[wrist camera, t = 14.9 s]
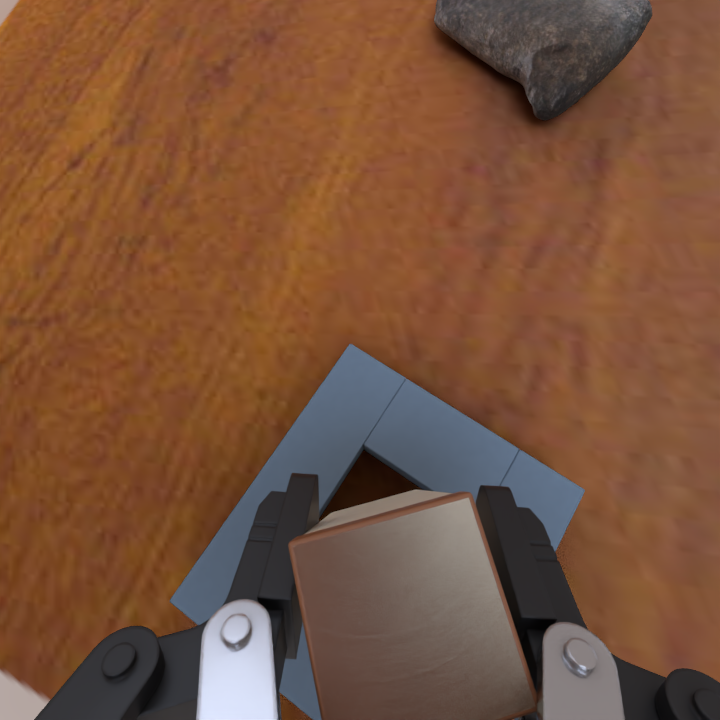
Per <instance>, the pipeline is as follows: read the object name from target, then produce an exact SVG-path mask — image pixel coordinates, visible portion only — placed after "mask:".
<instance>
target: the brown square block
mask: <svg viewBox="0 0 720 720" xmlns="http://www.w3.org/2000/svg"><path fill="white" fill-rule="evenodd" d="M288 548H289V553H290V559H291V564H292V569H293V574H294V579H295V585H296V590H297V595H298V600H299V605H300V611H301V616H302V621H303V626H304V631H305V637H306V642H307V647H308V652H309V657H310V663H311V668H312V673H313V678H314V683H315V688H316V694H317V699H318V704H319V709H320V714H321V720H512V719H515V718H518V717H522V716H525V715H528V714H531V713H534V712H537V693H536V690H535V687H534V684H533V681H532V678H531V675H530V671H529V668H528V665H527V662H526V659H525V656H524V653H523V650H522V647H521V644H520V641H519V637H518V634H517V631H516V628H515V625H514V622H513V619H512V616H511V613H510V610H509V607H508V603H507V600H506V597H505V594H504V591H503V588H502V585H501V582H500V579H499V576H498V573H497V569H496V566H495V563H494V560H493V557H492V554H491V551H490V548H489V545H488V542H487V539H486V535H485V532H484V529H483V526H482V523H481V520H480V517H479V514H478V511H477V508H476V505H475V501H474V498H473V495H472V494H471V493H470V492H463V491H459V492H456V493H445V492H436V491H426V490H416V489H415V490H412V491H408V492H404V493H401V494H397V495H393V496H390V497H386V498H383V499H379V500H375V501H372V502H368V503H364V504H361V505H357V506H354V507H350V508H346V509H343V510H339V511H335V512H332V513H330V514H329V515H328V516H326V517H325V518H324V519H323V520H321V521H320V522H319V523H318V524H316V525H315V526H314V527H313V528H311V529H310V530H309V531H308V532H306V533H305V534H304V535H301V536H297V537H296V538H294V539H293V540H292V541H290V542H289V544H288Z"/></svg>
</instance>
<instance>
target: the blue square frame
mask: <svg viewBox="0 0 720 720" xmlns="http://www.w3.org/2000/svg"><path fill="white" fill-rule="evenodd" d="M363 450H365V451H366V452H368V453H369V454H371V455H372V456H374V457H375V458H377V459H378V460H380V461H381V462H383V463H384V464H386V465H387V466H389V467H390V468H391V469H393V470H394V471H396V472H397V473H399V474H400V475H402V476H403V477H405V478H406V479H408V480H409V481H411V482H412V483H414V484H415V485H417V486H418V487H420V488H421V489H423V490H426V491H436V492H445V493H456V492H459V491H463V492H470V493H471V494H472V495H473V498H474V501H475V503H476V499H477V495H478V490H479V487H480V486H481V485H490V486H506V487H509V488H510V489H511V491H512V494H513V497H514V500H515V502H516V505H517V507H526V508H530V509H531V510H532V512H533V513H534V514H535V515H536V516H537V517H538V518H539V520H540V521H541V522H542V523H543V524H544V527H545V529H546V532H547V534H548V536H549V539H550V541H551V546H553V549H554V551H556V549H557V547H558V545H559V543H560V541H561V539H562V537H563V535H564V533H565V531H566V529H567V527H568V525H569V523H570V520H571V518H572V516H573V514H574V512H575V510H576V508H577V506H578V504H579V502H580V500H581V498H582V496H583V494H584V492H585V490H584V489H583V488H581V487H580V486H578V485H576V484H575V483H573V482H572V481H570V480H568V479H567V478H565V477H564V476H562V475H560V474H559V473H557V472H556V471H554V470H552V469H551V468H549V467H548V466H546V465H544V464H543V463H541V462H539V461H538V460H536V459H535V458H533V457H531V456H530V455H528V454H527V453H525V452H523V451H522V450H519V449H518V448H517V447H515V446H514V445H512V444H511V443H509V442H507V441H506V440H504V439H503V438H501V437H499V436H498V435H496V434H495V433H493V432H491V431H490V430H488V429H487V428H485V427H483V426H482V425H480V424H479V423H477V422H475V421H474V420H472V419H471V418H469V417H467V416H466V415H464V414H463V413H461V412H459V411H458V410H456V409H455V408H453V407H451V406H450V405H448V404H447V403H445V402H443V401H442V400H440V399H439V398H437V397H435V396H434V395H432V394H431V393H429V392H427V391H426V390H424V389H422V388H421V387H419V386H418V385H416V384H414V383H413V382H411V381H410V380H408V379H406V378H405V377H403V376H402V375H400V374H399V373H397V372H395V371H394V370H392V369H391V368H389V367H387V366H386V365H384V364H383V363H381V362H379V361H378V360H376V359H375V358H373V357H371V356H370V355H368V354H367V353H365V352H363V351H362V350H360V349H358V348H357V347H355V346H354V345H352V344H349V346H348V347H347V348H346V350H345V351H344V353H343V354H342V356H341V357H340V358H339V360H338V361H337V363H336V364H335V366H334V367H333V368H332V370H331V371H330V373H329V374H328V375H327V377H326V378H325V380H324V381H323V383H322V384H321V385H320V387H319V388H318V390H317V391H316V393H315V394H314V395H313V397H312V398H311V400H310V401H309V403H308V404H307V405H306V407H305V408H304V410H303V411H302V413H301V414H300V415H299V417H298V418H297V420H296V421H295V423H294V424H293V425H292V427H291V428H290V430H289V431H288V432H287V434H286V435H285V437H284V438H283V440H282V441H281V442H280V444H279V445H278V447H277V448H276V450H275V451H274V452H273V454H272V455H271V457H270V458H269V460H268V461H267V462H266V464H265V465H264V467H263V468H262V470H261V471H260V472H259V474H258V475H257V477H256V478H255V480H254V481H253V482H252V484H251V485H250V487H249V488H248V489H247V491H246V492H245V494H244V495H243V497H242V498H241V499H240V501H239V502H238V504H237V505H236V507H235V508H234V509H233V511H232V512H231V514H230V515H229V517H228V518H227V519H226V521H225V522H224V524H223V525H222V527H221V528H220V529H219V531H218V532H217V534H216V535H215V537H214V538H213V539H212V541H211V542H210V544H209V545H208V546H207V548H206V549H205V551H204V552H203V554H202V555H201V556H200V558H199V559H198V561H197V562H196V564H195V565H194V566H193V568H192V569H191V571H190V572H189V574H188V575H187V576H186V578H185V579H184V581H183V582H182V584H181V585H180V586H179V588H178V589H177V591H176V592H175V594H174V595H173V596H172V598H171V599H170V602H171V603H172V604H173V605H174V606H176V607H177V608H178V609H179V610H180V611H182V612H183V613H184V614H185V615H187V616H188V617H189V618H190V619H191V620H193V621H194V622H195V623H196V624H197V625H200V624H202V623H204V622H205V621H207V620H208V619H210V618H211V616H212V615H213V614H214V613H215V612H216V611H217V610H218V609H219V608H221V606H222V605H223V604H224V602H225V600H226V598H227V596H228V594H229V591H230V588H231V585H232V582H233V579H234V576H235V573H236V571H237V568H238V565H239V562H240V559H241V556H242V553H243V550H244V547H245V544H246V541H247V540H248V535H249V532H250V530H251V527H252V526H253V521H254V518H255V515H256V512H257V509H258V506H259V504H260V503H261V502H262V501H263V500H264V499H265V498H266V496H267V495H268V494H269V493H270V492H271V491H279V492H286V490H287V487H288V483H289V480H290V476H291V474H292V473H302V474H318V481H319V518H320V516H321V515H322V513H323V512H324V510H325V509H326V507H327V506H328V504H329V503H330V501H331V499H332V498H333V496H334V495H335V493H336V492H337V490H338V489H339V487H340V485H341V484H342V482H343V481H344V479H345V478H346V476H347V475H348V473H349V471H350V470H351V468H352V467H353V465H354V464H355V462H356V461H357V459H358V457H359V456H360V454H361V453H362V451H363ZM279 692H280V693H281V694H282V695H284V696H285V697H286V698H287V699H288V700H290V701H291V702H292V703H293V704H295V705H296V706H297V707H298V708H299V709H301V710H302V711H303V712H304V713H305V714H307V715H308V716H309V717H310V718H312V719H313V720H321V714H320V709H319V704H318V699H317V694H316V688H315V683H314V678H313V673H312V668H311V663H310V657H309V652H308V647H307V642H306V637H305V631H304V626H303V622H302V628H301V634H300V640H299V646H298V652H297V658H296V659H285V663H284V668H283V674H282V679H281V684H280V689H279Z"/></svg>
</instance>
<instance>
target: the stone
mask: <svg viewBox="0 0 720 720" xmlns="http://www.w3.org/2000/svg"><path fill="white" fill-rule="evenodd" d="M651 17H652V7H651V5H650V2H649V1H648V0H437V3H436V14H435V18H434V22H435V24H436V26H437V27H438V28H439V29H440V30H441V31H443V32H444V33H445V34H447V35H448V36H449V37H451V38H452V39H453V40H455V41H456V42H457V43H459V44H460V45H461V46H462V47H464V48H466V49H467V50H468V51H469V52H471V53H472V54H473V55H475V56H476V57H478V58H479V59H481V60H482V61H484V62H485V63H487V64H488V65H490V66H491V67H493V68H494V69H495V70H496V71H498V72H499V73H501V74H503V75H504V76H507V77H509V78H511V79H513V80H515V81H517V82H519V83H520V84H522V85H523V86H524V89H525V92H526V95H527V97H528V100H529V102H530V104H531V105H532V106H533V113H534V115H535V116H536V117H537V118H539V119H541V120H549V119H552V118H554V117H556V116H558V115H560V114H561V113H563V112H564V111H566V110H567V109H568V108H569V107H571V106H572V105H573V104H575V103H576V102H577V101H578V100H579V99H580V98H581V97H583V96H584V95H585V94H586V93H587V92H588V91H590V90H591V89H592V88H593V87H594V86H596V85H597V84H598V83H599V82H600V81H601V80H603V79H604V78H605V77H606V76H607V74H608V73H609V72H610V71H611V70H613V69H614V68H615V67H616V66H617V65H618V64H619V63H620V62H621V61H622V60H623V58H624V57H625V56H626V55H627V54H628V53H629V51H630V50H631V49H632V47H633V46H634V45H635V44H636V42H637V41H638V39H639V38H640V36H641V35H642V33H643V31H644V30H645V28H646V26H647V24H648V22H649V21H650V19H651Z"/></svg>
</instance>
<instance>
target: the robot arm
mask: <svg viewBox="0 0 720 720" xmlns="http://www.w3.org/2000/svg"><path fill="white" fill-rule="evenodd" d="M475 505H476V508H477V511H478V514H479V517H480V520H481V523H482V526H483V529H484V532H485V535H486V539H487V542H488V545H489V548H490V551H491V554H492V557H493V560H494V563H495V566H496V569H497V573H498V576H499V579H500V582H501V585H502V588H503V591H504V594H505V597H506V600H507V603H508V607H509V610H510V613H511V616H512V619H513V622H514V625H515V628H516V631H517V634H518V637H519V641H520V644H521V647H522V650H523V653H524V656H525V659H526V662H527V665H528V668H529V671H530V675H531V678H532V681H533V684H534V687H535V690H536V693H537V712H534V713H531V714H528V715H525V716H522V717H518V718H515V719H514V720H720V683H719V682H717V681H716V680H714V679H713V678H711V677H709V676H707V675H705V674H703V673H701V672H698V671H696V670H692V669H684V668H682V669H676V670H674V671H672V672H671V673H670V674H669V675H668V676H667V678H665V677H663V676H660V675H658V674H655V673H653V672H650V671H648V670H645V669H643V668H640V667H638V666H635V665H633V664H630V663H628V662H626V661H623V660H621V659H620V658H618V657H616V656H615V655H613V654H612V653H610V651H609V650H608V648H607V647H606V646H605V645H604V643H603V642H602V641H601V640H600V639H599V638H598V637H597V636H596V635H594V634H593V633H592V632H590V631H589V630H588V629H587V627H586V625H585V623H584V621H583V619H582V617H581V614H580V612H579V610H578V607H577V605H576V602H575V600H574V597H573V595H572V592H571V590H570V588H569V585H568V583H567V580H566V578H565V575H564V573H563V571H562V568H561V566H560V563H559V561H557V556H556V553H555V551H554V549H553V546H551V541H550V539H549V536H548V534H547V532H546V529H545V527H544V524H543V523H542V522H541V521H540V520H539V518H538V517H537V516H536V515H535V514H534V513H533V512H532V510H531V509H530V508H526V507H517V505H516V502H515V500H514V497H513V494H512V491H511V489H510V488H509V487H506V486H490V485H481V486H480V487H479V490H478V495H477V499H476V503H475ZM318 523H319V481H318V474H302V473H292V474H291V476H290V480H289V483H288V487H287V490H286V492H279V491H271V492H270V493H269V494H268V495H267V496H266V498H265V499H264V500H263V501H262V502H261V503H260V504H259V506H258V509H257V512H256V515H255V518H254V521H253V526H252V527H251V530H250V532H249V535H248V540H247V541H246V544H245V547H244V550H243V553H242V556H241V559H240V562H239V565H238V568H237V571H236V573H235V576H234V579H233V582H232V585H231V588H230V591H229V594H228V596H227V598H226V600H225V602H224V604H223V605H222V606H221V608H219V609H218V610H217V611H216V612H215V613H214V614H213V615H212V616H211V618H210V619H208V620H207V621H205V622H204V623H202V624H200V625H198V626H196V627H194V628H191V629H188V630H184V631H180V632H176V633H173V634H169V635H165V636H162V637H158V638H157V636H156V634H155V633H154V632H153V631H152V630H150V629H148V628H146V627H143V626H130V627H126V628H123V629H120V630H118V631H116V632H114V633H112V634H111V635H109V636H108V637H106V638H105V639H104V640H102V641H101V642H100V643H99V644H98V645H97V646H96V647H95V648H94V649H93V650H92V652H91V653H90V654H89V655H88V656H87V657H86V659H85V660H84V661H83V662H82V663H81V665H80V666H79V667H78V668H77V669H76V671H75V672H74V673H73V674H72V675H71V677H70V678H69V679H68V680H67V681H66V682H65V684H64V685H63V686H62V687H61V688H60V690H59V691H58V692H57V693H56V694H55V696H54V697H53V698H52V699H51V700H50V701H49V703H48V704H47V705H46V706H45V708H44V709H43V710H42V711H41V712H40V713H39V715H38V716H37V717H36V718H35V719H34V720H282V719H281V707H280V694H279V689H280V684H281V679H282V674H283V668H284V663H285V659H296V658H297V652H298V646H299V640H300V634H301V628H302V622H303V621H302V616H301V611H300V605H299V600H298V595H297V590H296V585H295V579H294V574H293V569H292V564H291V559H290V553H289V548H288V544H289V542H290V541H292V540H293V539H294V538H296V537H297V536H301V535H304V534H305V533H306V532H308V531H309V530H310V529H311V528H313V527H314V526H315V525H316V524H318Z"/></svg>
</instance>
